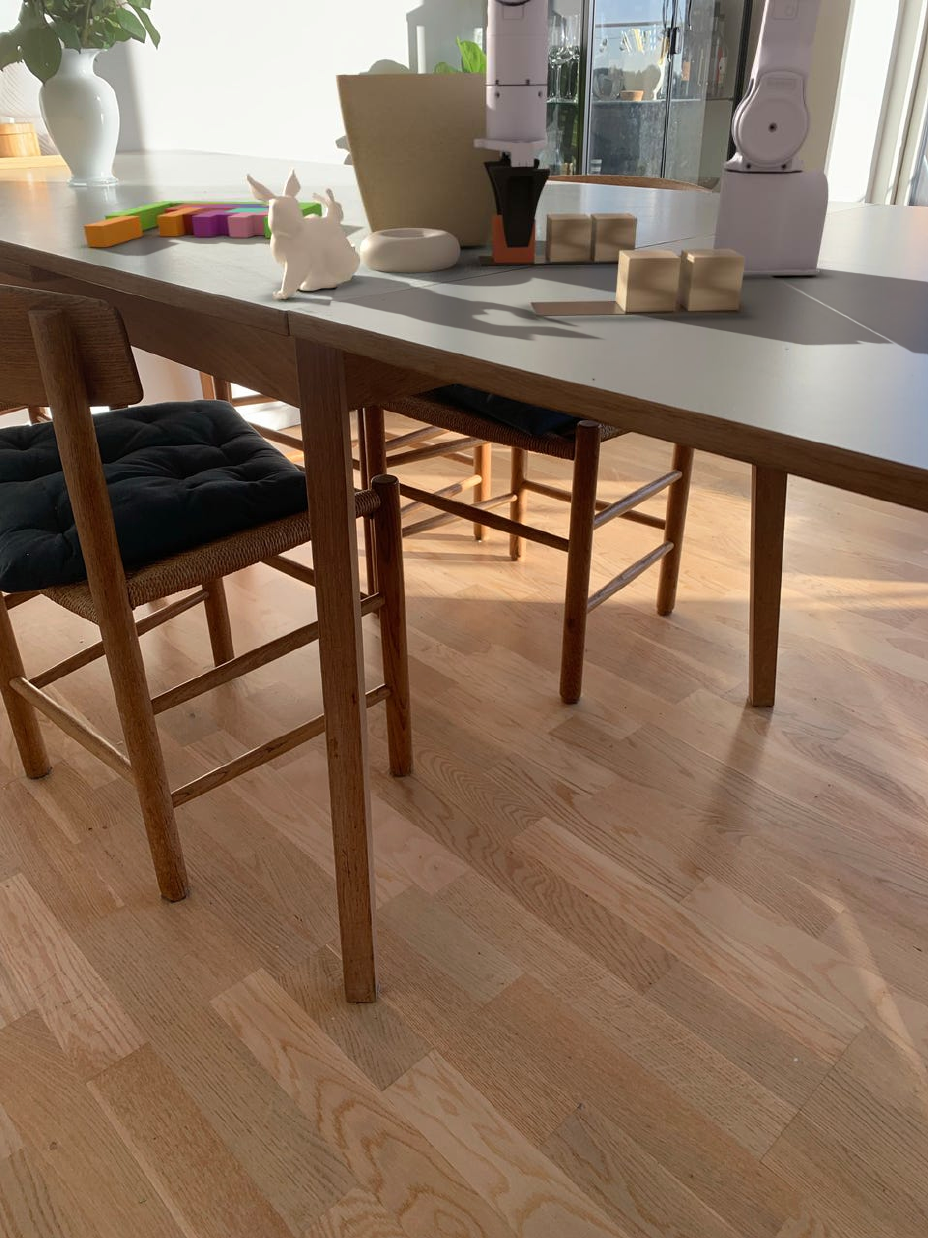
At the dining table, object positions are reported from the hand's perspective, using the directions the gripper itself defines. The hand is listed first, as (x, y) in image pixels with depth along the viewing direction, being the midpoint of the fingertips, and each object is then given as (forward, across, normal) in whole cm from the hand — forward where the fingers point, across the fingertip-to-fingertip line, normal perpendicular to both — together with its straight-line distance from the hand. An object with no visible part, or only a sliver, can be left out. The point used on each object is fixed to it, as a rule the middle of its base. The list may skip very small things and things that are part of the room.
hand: (514, 241), depth 92 cm
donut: (+2, +2, -10) cm, 11 cm away
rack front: (+2, +24, +8) cm, 25 cm away
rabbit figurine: (+2, +10, -20) cm, 23 cm away
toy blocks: (+2, -26, -36) cm, 45 cm away
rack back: (+2, 0, +4) cm, 5 cm away
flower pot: (+2, -16, -8) cm, 18 cm away
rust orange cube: (+2, 0, 0) cm, 2 cm away
